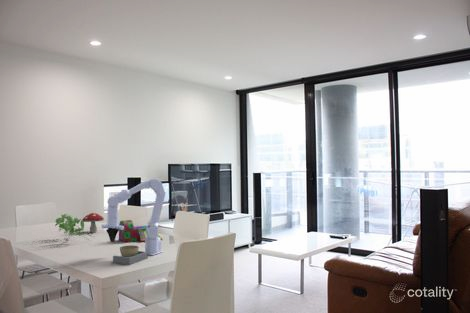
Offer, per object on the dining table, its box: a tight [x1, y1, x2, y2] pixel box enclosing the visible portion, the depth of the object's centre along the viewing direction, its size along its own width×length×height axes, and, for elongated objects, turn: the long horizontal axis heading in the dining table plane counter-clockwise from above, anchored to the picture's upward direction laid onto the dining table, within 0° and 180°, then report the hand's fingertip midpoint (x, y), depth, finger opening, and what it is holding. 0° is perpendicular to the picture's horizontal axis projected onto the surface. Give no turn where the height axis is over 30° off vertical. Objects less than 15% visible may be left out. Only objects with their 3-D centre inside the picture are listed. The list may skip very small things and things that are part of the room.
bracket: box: [112, 250, 148, 266], centre depth 202 cm, size 15×11×4 cm
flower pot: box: [119, 244, 140, 257], centre depth 202 cm, size 10×10×7 cm
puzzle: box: [118, 219, 163, 244], centre depth 258 cm, size 25×17×14 cm
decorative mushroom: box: [81, 212, 105, 233], centre depth 286 cm, size 16×16×15 cm
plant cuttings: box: [54, 213, 94, 242], centre depth 253 cm, size 35×17×22 cm
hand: (112, 241), depth 211 cm, fingers closed
